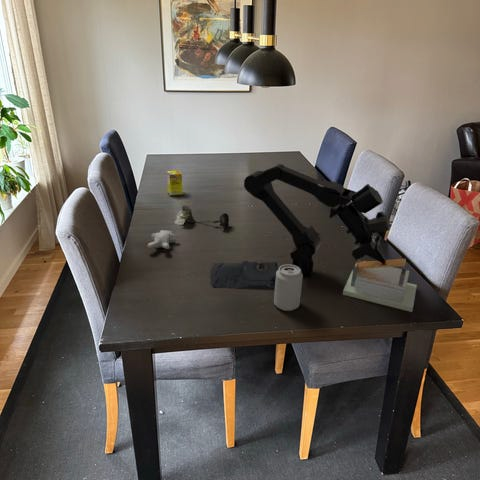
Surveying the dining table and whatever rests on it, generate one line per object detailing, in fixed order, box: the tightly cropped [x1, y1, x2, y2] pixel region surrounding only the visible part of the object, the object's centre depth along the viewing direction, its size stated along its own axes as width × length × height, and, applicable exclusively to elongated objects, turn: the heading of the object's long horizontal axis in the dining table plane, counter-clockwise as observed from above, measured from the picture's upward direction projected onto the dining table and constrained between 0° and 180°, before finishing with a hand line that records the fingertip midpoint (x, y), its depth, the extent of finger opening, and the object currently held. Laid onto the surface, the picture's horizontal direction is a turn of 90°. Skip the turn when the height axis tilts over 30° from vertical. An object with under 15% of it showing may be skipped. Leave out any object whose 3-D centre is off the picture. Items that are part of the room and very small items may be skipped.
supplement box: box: [166, 170, 183, 198], centre depth 205 cm, size 6×6×11 cm
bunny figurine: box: [146, 229, 178, 250], centre depth 156 cm, size 10×5×15 cm
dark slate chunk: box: [209, 260, 279, 291], centre depth 138 cm, size 15×22×5 cm
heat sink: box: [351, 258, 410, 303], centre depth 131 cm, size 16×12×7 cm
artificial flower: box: [174, 205, 230, 230], centre depth 174 cm, size 9×22×10 cm, turn 69°
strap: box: [354, 258, 407, 269], centre depth 129 cm, size 15×4×1 cm, turn 66°
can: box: [273, 264, 304, 312], centre depth 122 cm, size 8×8×12 cm
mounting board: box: [342, 269, 418, 313], centre depth 132 cm, size 20×14×2 cm
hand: (384, 262), depth 129 cm, fingers closed, pressing on strap
